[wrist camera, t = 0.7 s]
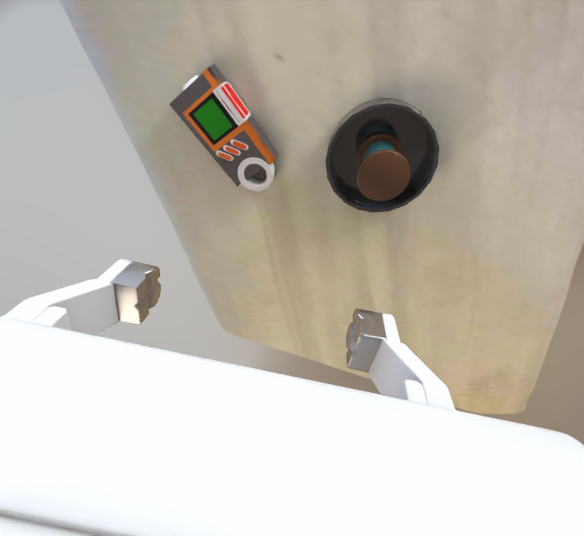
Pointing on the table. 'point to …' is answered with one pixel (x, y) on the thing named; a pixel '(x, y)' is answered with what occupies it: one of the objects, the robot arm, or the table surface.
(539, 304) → the table surface
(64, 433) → the robot arm
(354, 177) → the pan
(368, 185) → the spool
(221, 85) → the electronic device
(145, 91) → the table surface
